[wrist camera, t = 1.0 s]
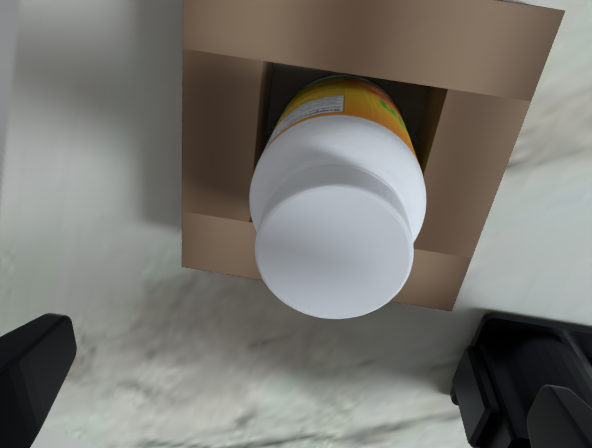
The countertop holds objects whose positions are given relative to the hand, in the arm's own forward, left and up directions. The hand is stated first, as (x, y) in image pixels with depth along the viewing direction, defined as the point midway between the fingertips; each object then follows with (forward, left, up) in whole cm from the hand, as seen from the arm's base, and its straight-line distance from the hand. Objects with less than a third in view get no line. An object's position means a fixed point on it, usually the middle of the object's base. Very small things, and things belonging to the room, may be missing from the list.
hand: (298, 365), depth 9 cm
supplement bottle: (0, 0, -13) cm, 13 cm away
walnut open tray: (0, 0, -13) cm, 13 cm away
